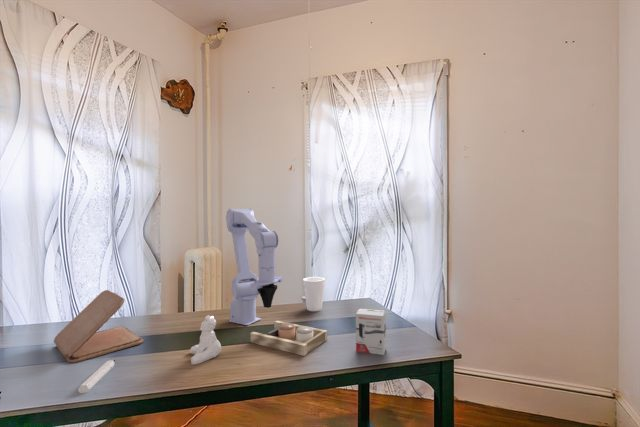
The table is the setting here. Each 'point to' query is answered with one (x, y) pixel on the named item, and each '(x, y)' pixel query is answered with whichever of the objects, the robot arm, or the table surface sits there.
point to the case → (83, 338)
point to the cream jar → (304, 334)
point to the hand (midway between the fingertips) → (267, 307)
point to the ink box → (371, 331)
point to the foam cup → (314, 292)
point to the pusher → (273, 332)
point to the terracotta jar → (286, 331)
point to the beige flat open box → (290, 345)
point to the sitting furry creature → (206, 342)
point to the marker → (96, 376)
